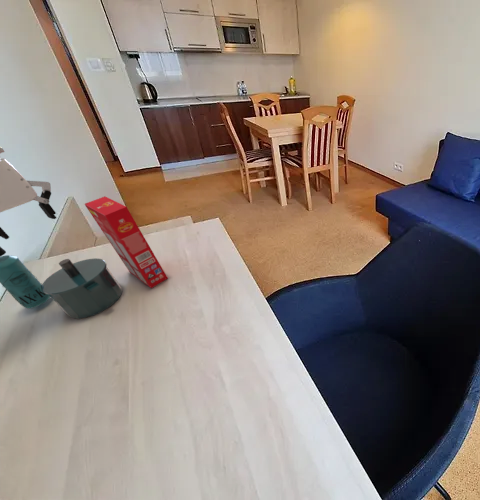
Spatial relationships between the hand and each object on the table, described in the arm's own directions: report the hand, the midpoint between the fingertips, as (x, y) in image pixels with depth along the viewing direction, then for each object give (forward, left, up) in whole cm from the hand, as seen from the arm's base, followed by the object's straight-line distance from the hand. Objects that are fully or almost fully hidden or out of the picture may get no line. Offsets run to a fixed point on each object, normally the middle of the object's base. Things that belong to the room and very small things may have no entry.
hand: (30, 227), depth 74 cm
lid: (+1, -2, -16) cm, 16 cm away
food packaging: (+15, -6, -25) cm, 30 cm away
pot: (+1, -2, -25) cm, 25 cm away
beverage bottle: (-7, +13, -25) cm, 29 cm away
